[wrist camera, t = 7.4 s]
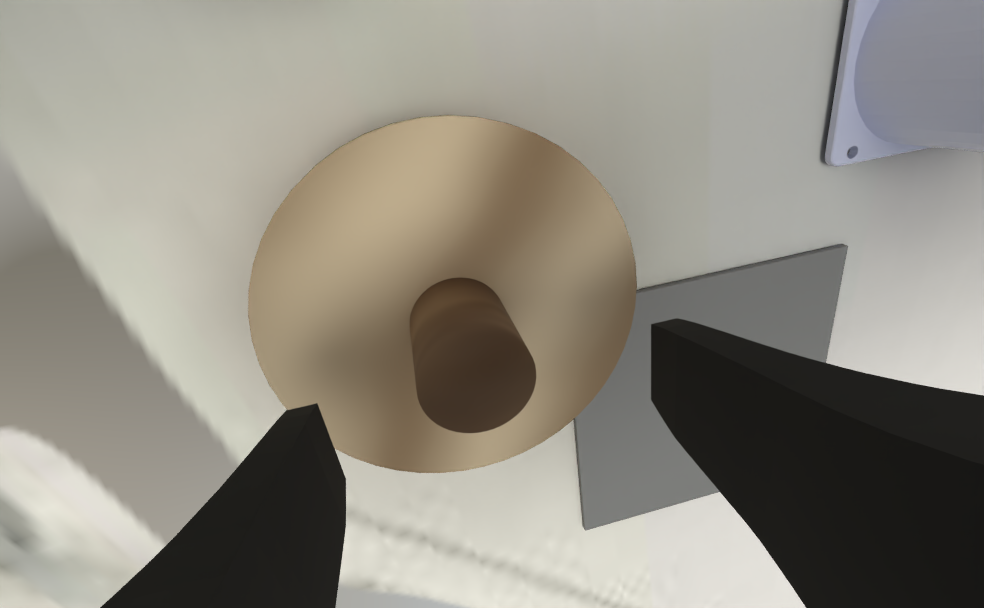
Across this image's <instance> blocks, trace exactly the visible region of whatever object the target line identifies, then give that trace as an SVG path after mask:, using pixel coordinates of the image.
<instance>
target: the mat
mask: <svg viewBox="0 0 984 608" xmlns="http://www.w3.org/2000/svg"><path fill="white" fill-rule="evenodd" d="M847 248H848V246H847V245H844V244H841V245H836V246H832V247H827V248H823V249H818V250H814V251H810V252H805V253H801V254H796V255H792V256H787V257H783V258H778V259H774V260H769V261H765V262H761V263H756V264H752V265H747V266H743V267H738V268H734V269H729V270H725V271H720V272H716V273H712V274H707V275H703V276H698V277H694V278H689V279H685V280H680V281H676V282H672V283H667V284H663V285H658V286H654V287H649V288H645V289H640V290H636V303H635V311H634V316H633V321H632V326H631V329H630V332H629V335H628V338H627V341H626V344H625V347H624V350H623V352H622V354H621V356H620V358H619V360H618V362H617V365H616V367H615V368H614V370H613V372H612V373H611V375H610V376H609V378H608V380H607V381H606V383H605V385H604V386H603V387H602V388H601V390H600V391H599V392H598V394H597V395H596V396H595V397H594V399H593V400H592V401H591V402H590V403H589V404H588V405H587V406H586V407H585V408H584V409H583V411H582V412H581V413H580V414H579V415H578V416H577V417H576V418H574V424H575V436H576V448H577V460H578V471H579V483H580V495H581V507H582V519H583V527H584V529H585V530H589V529H592V528H596V527H599V526H603V525H606V524H610V523H613V522H617V521H620V520H624V519H627V518H630V517H634V516H637V515H641V514H644V513H648V512H651V511H655V510H658V509H662V508H665V507H669V506H672V505H676V504H679V503H682V502H686V501H689V500H693V499H696V498H700V497H703V496H707V495H710V494H714V493H717V492H720V491H719V490H718V489H717V488H716V487H715V485H714V484H713V483H712V482H711V481H710V479H709V478H708V477H707V476H706V475H705V474H704V472H703V471H702V470H701V469H700V468H699V466H698V465H697V464H696V463H695V462H694V460H693V459H692V458H691V457H690V456H689V454H688V453H687V452H686V451H685V450H684V448H683V447H682V446H681V445H680V443H679V442H678V441H677V440H676V439H675V437H674V436H673V434H672V433H671V431H670V430H669V428H668V427H667V425H666V424H665V422H664V421H663V419H662V417H661V416H660V414H659V412H658V411H657V409H656V407H655V406H654V404H653V402H652V401H651V324H654V323H658V322H663V321H667V320H671V319H675V318H679V319H683V320H687V321H691V322H695V323H698V324H701V325H705V326H708V327H711V328H714V329H717V330H720V331H723V332H727V333H730V334H733V335H736V336H739V337H742V338H745V339H748V340H751V341H754V342H757V343H760V344H763V345H766V346H770V347H773V348H776V349H779V350H782V351H786V352H789V353H792V354H796V355H799V356H802V357H806V358H809V359H813V360H817V361H820V362H824V363H826V359H827V353H828V348H829V343H830V338H831V332H832V327H833V322H834V317H835V311H836V306H837V301H838V296H839V290H840V285H841V280H842V275H843V269H844V264H845V259H846V254H847Z"/></svg>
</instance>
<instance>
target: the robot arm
mask: <svg viewBox="0 0 984 608" xmlns="http://www.w3.org/2000/svg"><path fill="white" fill-rule="evenodd" d="M932 147H937V148H947V149H957V150H967V151H978V152H984V0H849V3H848V10H847V16H846V23H845V29H844V36H843V42H842V49H841V55H840V62H839V68H838V74H837V81H836V87H835V94H834V100H833V107H832V113H831V120H830V126H829V133H828V139H827V145H826V152H825V161H826V163H827V164H829V165H832V166H843V165H848V164H853V163H858V162H863V161H867V160H872V159H877V158H882V157H887V156H892V155H897V154H902V153H907V152H912V151H917V150H922V149H927V148H932ZM849 149H850V151H849V154H848V155H847V152H848V150H849ZM651 401H652V402H653V404H654V406H655V407H656V409H657V411H658V412H659V414H660V416H661V417H662V419H663V421H664V422H665V424H666V425H667V427H668V428H669V430H670V431H671V433H672V434H673V436H674V437H675V439H676V440H677V441H678V442H679V443H680V445H681V446H682V447H683V448H684V450H685V451H686V452H687V453H688V454H689V456H690V457H691V458H692V459H693V460H694V462H695V463H696V464H697V465H698V466H699V468H700V469H701V470H702V471H703V472H704V474H705V475H706V476H707V477H708V478H709V479H710V481H711V482H712V483H713V484H714V485H715V487H716V488H717V489H718V490H719V491H720V492H721V494H722V495H723V496H724V497H725V498H726V500H727V501H728V502H729V503H730V504H731V505H732V507H733V508H734V509H735V510H736V511H737V513H738V514H739V515H740V516H741V517H742V518H743V520H744V521H745V522H746V523H747V525H748V526H749V527H750V528H751V530H752V531H753V532H754V534H755V535H756V536H757V537H758V539H759V540H760V541H761V543H762V544H763V545H764V547H765V548H766V550H767V551H768V553H769V554H770V555H771V557H772V558H773V560H774V561H775V563H776V564H777V565H778V567H779V568H780V570H781V571H782V573H783V574H784V576H785V577H786V578H787V580H788V581H789V583H790V584H791V586H792V587H793V588H794V590H795V591H796V593H797V594H798V596H799V597H800V599H801V601H802V602H803V604H804V605H805V607H806V608H984V396H983V395H976V394H970V393H964V392H958V391H951V390H945V389H939V388H934V387H929V386H923V385H918V384H913V383H908V382H903V381H899V380H894V379H889V378H885V377H880V376H876V375H871V374H866V373H862V372H858V371H854V370H850V369H846V368H842V367H838V366H835V365H831V364H827V363H824V362H820V361H817V360H813V359H809V358H806V357H802V356H799V355H796V354H792V353H789V352H786V351H782V350H779V349H776V348H773V347H770V346H766V345H763V344H760V343H757V342H754V341H751V340H748V339H745V338H742V337H739V336H736V335H733V334H730V333H727V332H723V331H720V330H717V329H714V328H711V327H708V326H705V325H701V324H698V323H695V322H691V321H687V320H683V319H679V318H675V319H671V320H667V321H663V322H658V323H654V324H651ZM345 527H346V478H345V476H344V473H343V470H342V468H341V465H340V462H339V460H338V457H337V454H336V452H335V449H334V446H333V444H332V441H331V438H330V436H329V433H328V430H327V427H326V425H325V422H324V419H323V417H322V414H321V411H320V409H319V406H318V403H316V404H312V405H307V406H303V407H299V408H295V409H291V410H286V412H285V413H284V414H283V415H282V416H281V417H280V418H279V419H278V420H277V421H276V423H275V424H274V425H273V426H272V427H271V428H270V430H269V431H268V432H267V433H266V434H265V436H264V437H263V438H262V439H261V440H260V442H259V443H258V444H257V445H256V446H255V448H254V449H253V450H252V451H251V452H250V454H249V455H248V456H247V457H246V458H245V459H244V461H243V462H242V463H241V464H240V465H239V466H238V468H237V469H236V470H235V471H234V472H233V473H232V475H231V476H230V477H229V478H228V479H227V481H226V482H225V483H224V484H223V485H222V486H221V487H220V489H219V490H218V491H217V492H216V493H215V494H214V495H213V496H212V497H211V498H210V499H209V500H208V502H207V503H206V504H205V505H204V506H203V507H202V508H201V509H200V510H199V511H198V512H197V514H196V515H195V516H194V517H193V518H192V519H191V520H190V521H189V522H188V523H187V524H186V525H185V526H184V527H183V529H182V530H181V531H180V532H179V533H178V534H177V535H176V536H175V537H174V538H173V539H172V540H171V541H170V542H169V543H168V544H167V545H166V546H165V547H164V548H163V549H162V550H161V551H160V552H159V553H158V554H157V555H156V556H155V557H154V558H153V559H152V560H151V561H150V562H149V563H148V564H147V565H146V566H145V567H144V568H143V569H142V570H141V571H139V572H138V573H137V574H136V575H135V576H134V577H133V578H132V579H131V580H130V581H129V582H128V583H127V584H126V585H124V586H123V587H122V588H121V589H120V590H119V591H118V592H117V593H116V594H115V595H114V596H113V597H112V598H110V599H109V600H108V601H107V602H106V603H105V604H104V605H103V606H102V607H100V608H335V605H336V598H337V590H338V583H339V575H340V568H341V560H342V552H343V544H344V536H345Z"/></svg>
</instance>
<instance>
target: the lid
mask: <svg viewBox="0 0 984 608" xmlns="http://www.w3.org/2000/svg"><path fill="white" fill-rule="evenodd" d="M636 289H637V281H636V266H635V259H634V254H633V249H632V245H631V240H630V238H629V235H628V232H627V229H626V226H625V224H624V221H623V219H622V217H621V215H620V213H619V211H618V209H617V207H616V206H615V204H614V202H613V200H612V198H611V197H610V196H609V194H608V193H607V192H606V190H605V189H604V187H603V186H602V185H601V183H600V182H599V181H598V179H597V178H596V177H595V176H594V175H593V174H592V173H591V172H590V171H589V170H588V169H587V168H586V167H585V166H584V165H583V164H582V163H581V162H580V161H578V160H577V159H576V158H574V157H573V156H572V155H570V154H569V153H568V152H566V151H565V150H563V149H562V148H561V147H559V146H558V145H556V144H554V143H552V142H550V141H548V140H547V139H545V138H543V137H541V136H539V135H537V134H535V133H533V132H530V131H527V130H524V129H522V128H519V127H516V126H513V125H511V124H507V123H503V122H498V121H493V120H489V119H484V118H479V117H470V116H455V115H443V116H430V117H419V118H414V119H410V120H405V121H401V122H396V123H392V124H389V125H386V126H384V127H381V128H378V129H376V130H373V131H370V132H368V133H365V134H363V135H361V136H359V137H358V138H356V139H354V140H352V141H350V142H349V143H347V144H345V145H343V146H341V147H339V148H338V149H337V150H335V151H334V152H333V153H331V154H330V155H329V156H327V157H326V158H325V159H323V160H322V161H321V162H319V163H318V164H317V165H316V166H315V167H314V168H313V169H312V170H311V171H310V172H309V173H308V174H307V175H306V176H305V177H304V178H303V179H302V180H301V181H300V182H299V183H298V184H297V185H296V186H295V187H294V188H293V189H292V190H291V192H290V193H289V194H288V196H287V197H286V198H285V200H284V201H283V203H282V204H281V205H280V207H279V208H278V209H277V211H276V212H275V214H274V216H273V217H272V219H271V221H270V223H269V225H268V227H267V229H266V231H265V233H264V235H263V237H262V239H261V242H260V245H259V248H258V251H257V254H256V257H255V260H254V263H253V267H252V273H251V279H250V285H249V305H248V317H249V323H250V330H251V337H252V342H253V345H254V349H255V352H256V355H257V358H258V361H259V364H260V366H261V369H262V371H263V373H264V375H265V377H266V379H267V381H268V383H269V385H270V387H271V388H272V389H273V391H274V392H275V394H276V395H277V397H278V398H279V400H280V401H281V403H282V404H283V405H284V406H285V408H286V409H287V410H291V409H295V408H299V407H303V406H307V405H312V404H316V403H318V406H319V409H320V411H321V414H322V417H323V419H324V422H325V425H326V427H327V430H328V433H329V436H330V438H331V441H332V444H333V446H334V448H335V449H337V450H339V451H341V452H343V453H345V454H347V455H349V456H351V457H353V458H356V459H359V460H361V461H364V462H367V463H370V464H373V465H376V466H380V467H385V468H389V469H394V470H399V471H408V472H417V473H445V472H455V471H464V470H469V469H474V468H479V467H484V466H487V465H491V464H494V463H497V462H500V461H504V460H506V459H509V458H511V457H513V456H516V455H518V454H521V453H523V452H525V451H527V450H529V449H531V448H533V447H534V446H536V445H538V444H540V443H542V442H544V441H545V440H546V439H548V438H549V437H551V436H552V435H554V434H555V433H557V432H558V431H560V430H561V429H562V428H564V427H565V426H566V425H567V424H568V423H570V422H571V421H572V420H573V419H574V418H576V417H577V416H578V415H579V414H580V413H581V412H582V411H583V409H584V408H585V407H586V406H587V405H588V404H589V403H590V402H591V401H592V400H593V399H594V397H595V396H596V395H597V394H598V392H599V391H600V390H601V388H602V387H603V386H604V385H605V383H606V381H607V380H608V378H609V376H610V375H611V373H612V372H613V370H614V368H615V367H616V365H617V362H618V360H619V358H620V356H621V354H622V352H623V350H624V347H625V344H626V341H627V338H628V335H629V332H630V329H631V326H632V321H633V316H634V311H635V303H636Z"/></svg>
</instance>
